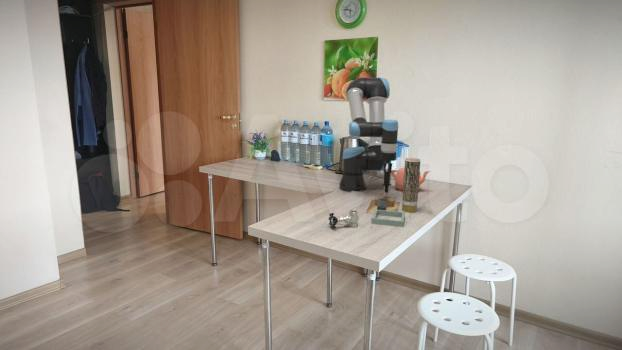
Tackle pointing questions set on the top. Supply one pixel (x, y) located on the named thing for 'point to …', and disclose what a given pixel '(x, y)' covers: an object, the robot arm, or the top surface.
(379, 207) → the block
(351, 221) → the valve
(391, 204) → the walnut plate
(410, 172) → the log cylinder
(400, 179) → the teapot
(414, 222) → the top surface
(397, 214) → the tray
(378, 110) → the robot arm
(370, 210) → the board
